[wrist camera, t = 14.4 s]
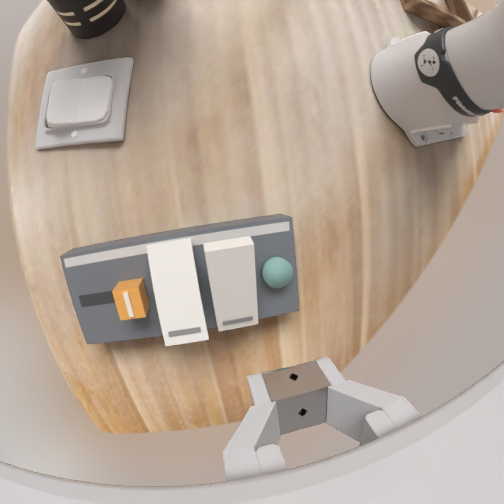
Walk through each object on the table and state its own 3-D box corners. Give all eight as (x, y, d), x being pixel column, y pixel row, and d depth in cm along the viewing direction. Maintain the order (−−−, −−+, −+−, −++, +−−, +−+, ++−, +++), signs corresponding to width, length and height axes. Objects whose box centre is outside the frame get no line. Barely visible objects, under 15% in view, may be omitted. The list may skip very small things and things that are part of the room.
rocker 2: (250, 235, 27) (254, 244, 26) (255, 314, 32) (258, 324, 31) (203, 243, 26) (204, 253, 25) (216, 321, 31) (218, 332, 30)
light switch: (37, 66, 21) (127, 47, 23) (51, 76, 25) (135, 61, 27) (22, 148, 24) (114, 135, 26) (39, 151, 28) (125, 141, 30)
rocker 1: (191, 239, 29) (190, 237, 27) (208, 335, 29) (208, 340, 27) (149, 246, 28) (145, 245, 26) (167, 341, 28) (165, 346, 26)
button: (287, 253, 31) (291, 256, 30) (289, 281, 32) (294, 285, 31) (259, 258, 31) (262, 261, 30) (262, 286, 32) (265, 290, 30)
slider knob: (143, 277, 29) (137, 287, 26) (149, 305, 30) (145, 318, 26) (118, 281, 28) (111, 291, 25) (126, 308, 29) (120, 321, 26)
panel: (281, 213, 34) (295, 218, 30) (288, 298, 37) (302, 313, 32) (73, 248, 30) (56, 258, 25) (95, 329, 33) (84, 348, 28)
